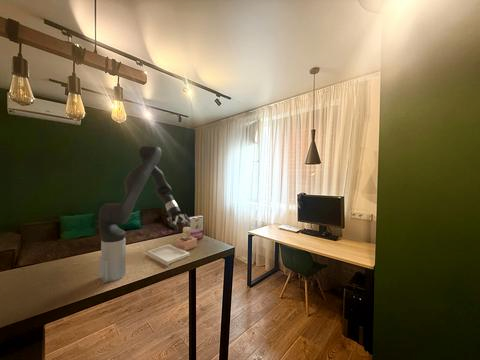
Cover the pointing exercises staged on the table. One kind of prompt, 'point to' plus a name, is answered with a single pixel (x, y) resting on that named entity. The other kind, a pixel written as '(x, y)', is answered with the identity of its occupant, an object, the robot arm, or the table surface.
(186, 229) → the birch dowel
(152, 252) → the tray
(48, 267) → the table surface
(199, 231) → the candy bar box
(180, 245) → the pink square box
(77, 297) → the table surface
